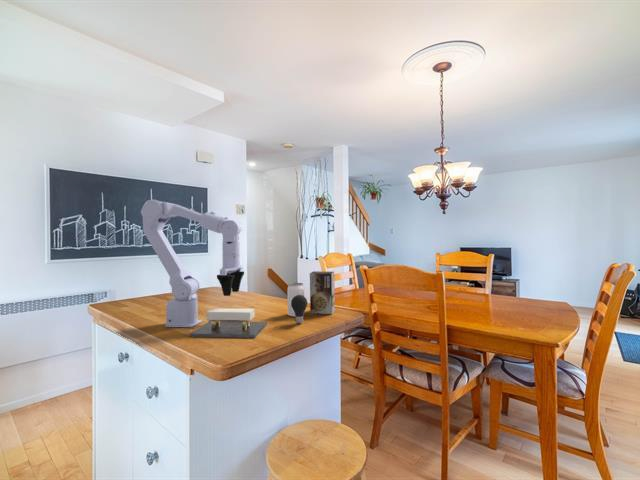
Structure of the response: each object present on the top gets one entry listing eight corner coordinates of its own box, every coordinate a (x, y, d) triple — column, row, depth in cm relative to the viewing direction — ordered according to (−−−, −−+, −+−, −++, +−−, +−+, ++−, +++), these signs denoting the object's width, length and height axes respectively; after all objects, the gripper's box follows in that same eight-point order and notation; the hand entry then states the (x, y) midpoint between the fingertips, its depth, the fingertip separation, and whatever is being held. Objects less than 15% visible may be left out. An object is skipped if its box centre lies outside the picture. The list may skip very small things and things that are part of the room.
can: (301, 317, 114) (301, 285, 114) (285, 316, 115) (285, 284, 115) (306, 313, 120) (306, 282, 120) (290, 312, 121) (290, 282, 121)
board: (206, 319, 96) (206, 311, 96) (213, 315, 101) (213, 308, 101) (250, 320, 95) (250, 312, 95) (254, 316, 100) (254, 308, 100)
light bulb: (292, 326, 102) (292, 296, 102) (290, 321, 108) (290, 293, 108) (308, 325, 103) (308, 296, 103) (306, 321, 109) (305, 293, 109)
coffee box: (335, 310, 124) (335, 271, 124) (332, 314, 118) (332, 273, 118) (313, 309, 126) (313, 270, 126) (309, 313, 120) (309, 272, 120)
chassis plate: (190, 336, 92) (190, 323, 92) (210, 323, 106) (210, 312, 106) (255, 338, 90) (255, 324, 90) (266, 324, 104) (266, 313, 104)
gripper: (234, 256, 99) (234, 297, 99) (249, 253, 113) (249, 290, 113) (213, 256, 99) (213, 297, 99) (230, 253, 114) (231, 290, 114)
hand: (231, 293), depth 106 cm, fingers open, 7 cm apart
